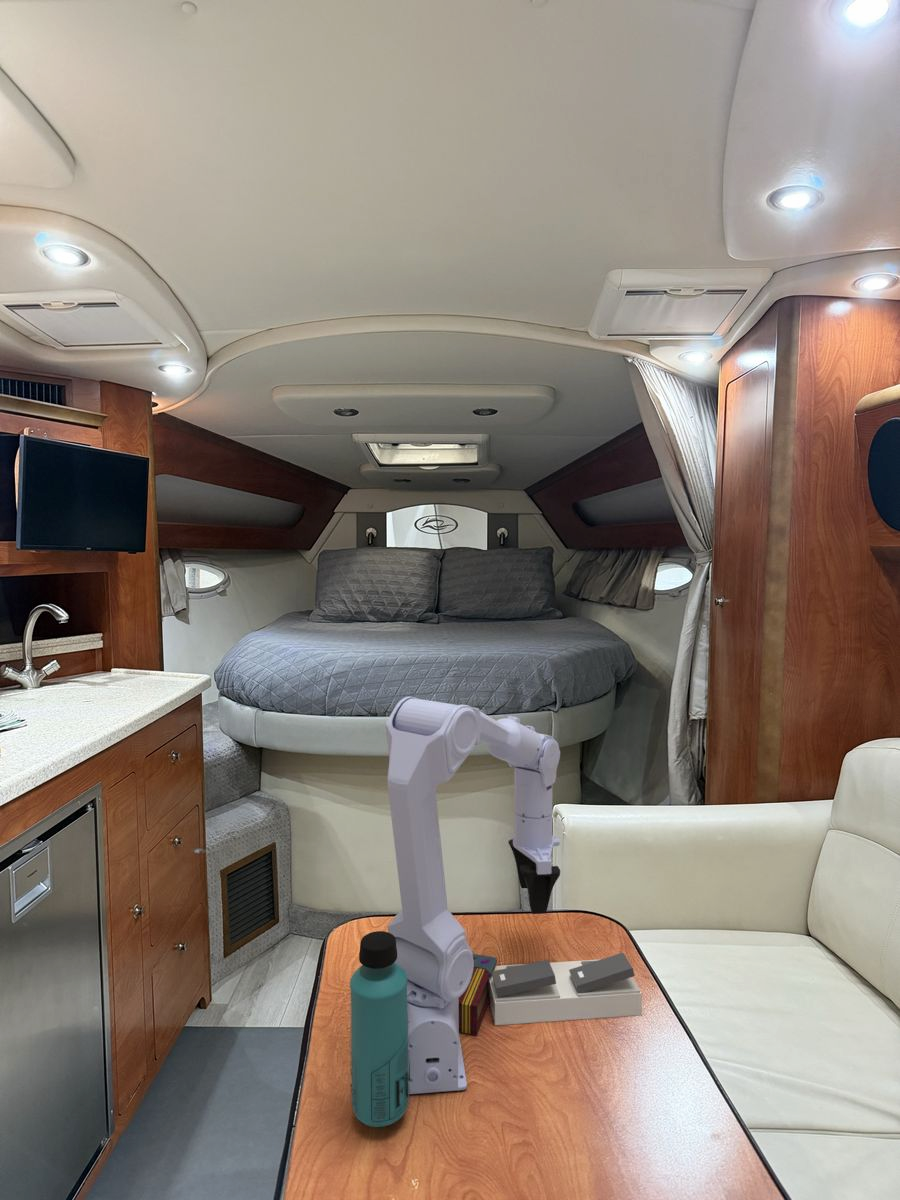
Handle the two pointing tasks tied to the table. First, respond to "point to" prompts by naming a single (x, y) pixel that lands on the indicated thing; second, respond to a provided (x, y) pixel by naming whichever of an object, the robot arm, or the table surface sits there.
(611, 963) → the rocker outer
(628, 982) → the base
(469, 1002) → the decorative book
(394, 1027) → the beverage bottle
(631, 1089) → the table surface
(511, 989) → the rocker inboard
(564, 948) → the table surface
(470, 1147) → the table surface
